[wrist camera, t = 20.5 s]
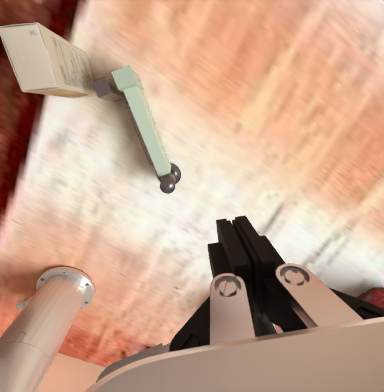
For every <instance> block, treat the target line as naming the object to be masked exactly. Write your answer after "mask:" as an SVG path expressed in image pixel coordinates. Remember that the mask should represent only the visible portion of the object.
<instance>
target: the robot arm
mask: <svg viewBox="0 0 384 392" xmlns="http://www.w3.org/2000/svg"><path fill="white" fill-rule="evenodd" d="M216 224H217V233H218V243H212V244H208V252H209V259H210V265H211V270H212V275H213V280H212V282H211V285H210V296H209V297H208V299H207V300H206V301H205V302H204V303H203V304H202V305H201V307H200V308H199V309H198V310H197V311H196V312H195V313H194V315H193V316H192V317H191V318H190V319H189V320H188V321H187V323H186V324H185V325H184V326H183V327H182V328H181V329H180V331H179V332H178V333H177V334H176V335H175V336H174V338H173V340H172V341H171V343H169V344H167V345H164V346H163V345H162V343H161V344H159V345H156V346H154V347H151V348H149V349H146V350H144V351H141V352H139V353H137V354H134V355H132V356H129V357H127V358H124V359H122V360H119V361H117V362H115V363H113V364H111V365H109V366H108V367H106V369H105V370H104V371H103V372H102V373H101V374H100V376H99V378H98V379H97V381H96V383H95V384H93V385H92V386H91V387H90V388H88V389H87V390H86V391H85V392H384V310H383V309H382V308H380V307H378V306H376V305H374V304H371V303H369V302H366V301H363V300H360V299H358V298H355V297H352V296H350V295H347V294H344V293H342V292H339V291H336V290H334V289H331V288H328V287H327V286H326V285H325V284H324V283H323V282H321V281H320V280H319V279H318V278H317V277H316V276H315V275H314V274H313V273H312V272H310V271H309V270H308V269H306V268H305V267H303V266H301V265H297V264H290V263H288V264H286V263H285V262H284V261H283V259H282V258H281V257H280V255H279V254H278V252H277V251H276V250H275V248H274V247H273V246H272V244H271V243H270V241H269V240H268V239H267V237H266V236H264V235H263V236H259V235H258V233H257V232H256V231H255V229H254V228H253V226H252V225H251V223H250V222H249V220H248V219H247V217H246V216H239V217H235V220H232V224H231V222H230V221H227V220H226V219H220V220H216ZM36 291H37V292H36V293H35V294H34V295H33V296H31V297H30V298H27V299H24V300H21V301H18V302H17V304H16V308H17V309H18V310H21V309H23V310H22V311H21V312H20V314H19V315H18V316H17V317H16V319H15V320H14V321H13V322H12V324H11V325H10V326H9V327H8V328H7V330H6V331H5V332H4V333H3V335H2V336H1V337H0V392H37V391H38V390H39V388H40V386H41V384H42V382H43V380H44V378H45V376H46V374H47V372H48V370H49V368H50V366H51V364H52V362H53V360H54V358H55V356H56V355H57V353H58V351H59V349H60V347H61V345H62V343H63V341H64V339H65V337H66V335H67V333H68V331H69V329H70V327H71V325H72V323H73V321H74V320H75V318H76V316H77V314H78V312H79V310H80V309H82V308H84V307H86V306H88V305H89V304H90V302H91V301H92V299H93V297H94V294H95V287H94V284H93V282H92V280H91V279H90V278H89V277H88V276H87V275H86V274H85V273H83V272H81V271H80V270H77V269H74V268H70V267H55V268H51V269H49V270H47V271H45V272H44V273H43V274H42V275H41V276H40V277H39V279H38V280H37V283H36ZM254 310H255V312H256V314H257V315H261V317H262V320H263V322H267V321H270V322H272V323H273V324H275V326H276V330H277V332H278V334H272V335H265V336H259V337H255V333H254V328H253V325H254Z"/></svg>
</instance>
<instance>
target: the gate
mask: <svg viewBox="0 0 384 392" xmlns="http://www.w3.org/2000/svg"><path fill="white" fill-rule="evenodd" d="M111 73H112V76H113V78H114V80H115V83H116V85H117V87H118V90H120V91H122V92H124V94H125V96H126V99H127V101H128V104H129V106H130V108H131V111H132V113H133V116H134V118H135V121H136V123H137V125H138V128H139V130H140V133H141V135H142V137H143V140H144V142H145V145H146V147H147V150H148V152H149V154H150V157H151V159H152V162H153V164H154V166H155V169H156V171H157V174H158V176H159V177H160V176H163V175H166V174H169V173H170V171H171V164H170V162H169V159H168V156H167V154H166V151H165V148H164V146H163V143H162V141H161V138H160V135H159V133H158V130H157V128H156V125H155V122H154V120H153V117H152V114H151V112H150V109H149V107H148V104H147V101H146V99H145V96H144V93H143V91H142V90H144V88H143V86H142V83H141V80H140V78H139V75H138V74H137V73H136V72H135V71H134V70H133V69H132V68H131V67H130V66H129V65H128V66H125V67H123V68H120V69H118V70H115V71H112V72H111Z"/></svg>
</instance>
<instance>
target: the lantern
mask: <svg viewBox="0 0 384 392" xmlns="http://www.w3.org/2000/svg"><path fill="white" fill-rule="evenodd" d="M358 299H360V300H363V301H366V302H369V303H371V304H374V305H376V306H378V307H380V308H382V309H383V310H384V288H373V289H371V290H370V291H368V292H366V293H364V294H363V295H361V296H359V297H358Z"/></svg>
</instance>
